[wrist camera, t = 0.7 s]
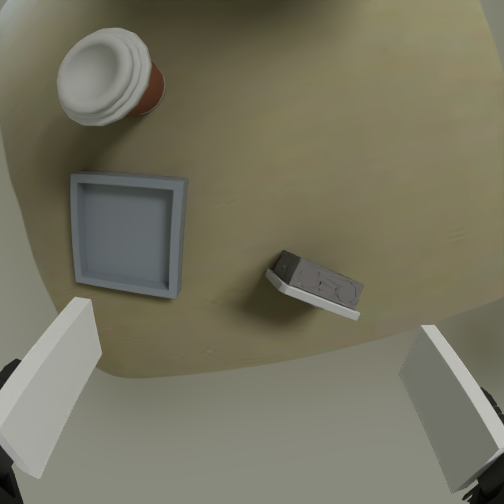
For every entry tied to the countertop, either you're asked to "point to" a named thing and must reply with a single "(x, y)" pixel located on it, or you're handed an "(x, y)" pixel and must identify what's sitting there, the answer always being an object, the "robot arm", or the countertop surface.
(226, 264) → the countertop surface
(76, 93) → the coffee cup
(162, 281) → the dock tray
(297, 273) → the electrical switch
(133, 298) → the countertop surface
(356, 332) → the countertop surface
